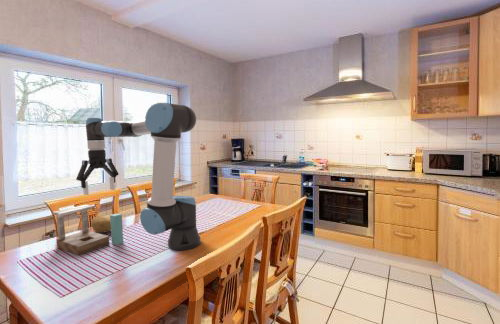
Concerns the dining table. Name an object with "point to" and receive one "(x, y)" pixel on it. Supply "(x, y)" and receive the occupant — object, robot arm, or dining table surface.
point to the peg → (116, 228)
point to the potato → (101, 224)
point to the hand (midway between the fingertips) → (99, 192)
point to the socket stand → (81, 240)
